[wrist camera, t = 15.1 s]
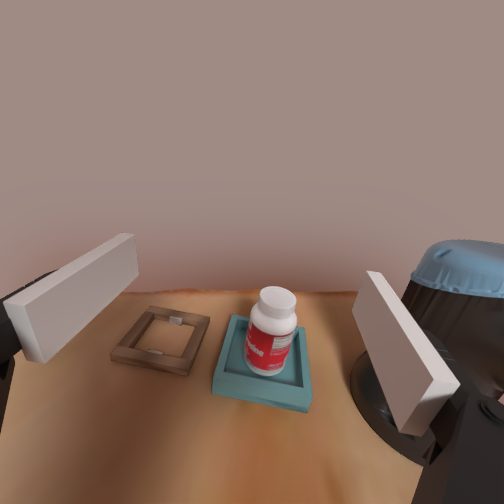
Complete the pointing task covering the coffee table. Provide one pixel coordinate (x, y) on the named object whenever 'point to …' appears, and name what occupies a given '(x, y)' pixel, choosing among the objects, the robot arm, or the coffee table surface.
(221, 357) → the tray
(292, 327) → the pill bottle
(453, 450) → the robot arm
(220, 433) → the coffee table surface
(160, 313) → the bottle holder
